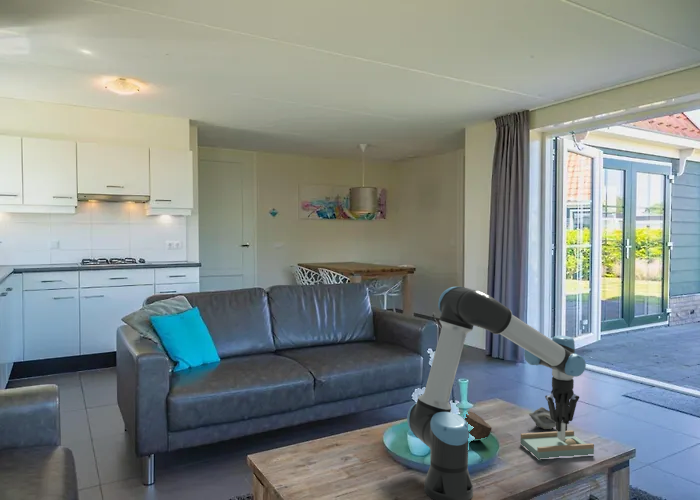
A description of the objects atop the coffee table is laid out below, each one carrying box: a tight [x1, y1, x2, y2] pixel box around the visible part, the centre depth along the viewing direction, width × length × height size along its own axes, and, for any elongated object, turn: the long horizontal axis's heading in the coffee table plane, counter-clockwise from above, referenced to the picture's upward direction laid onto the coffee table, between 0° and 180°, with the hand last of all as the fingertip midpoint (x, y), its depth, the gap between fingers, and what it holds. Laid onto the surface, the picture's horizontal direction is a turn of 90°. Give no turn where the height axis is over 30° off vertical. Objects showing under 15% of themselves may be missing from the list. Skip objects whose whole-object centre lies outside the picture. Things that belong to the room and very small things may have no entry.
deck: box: [520, 430, 595, 459], centre depth 187 cm, size 22×13×4 cm, turn 99°
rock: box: [465, 411, 493, 439], centre depth 195 cm, size 12×10×10 cm
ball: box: [565, 439, 576, 445], centre depth 188 cm, size 4×4×4 cm
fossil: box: [528, 406, 556, 430], centre depth 209 cm, size 11×9×8 cm
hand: (561, 439), depth 187 cm, fingers closed
